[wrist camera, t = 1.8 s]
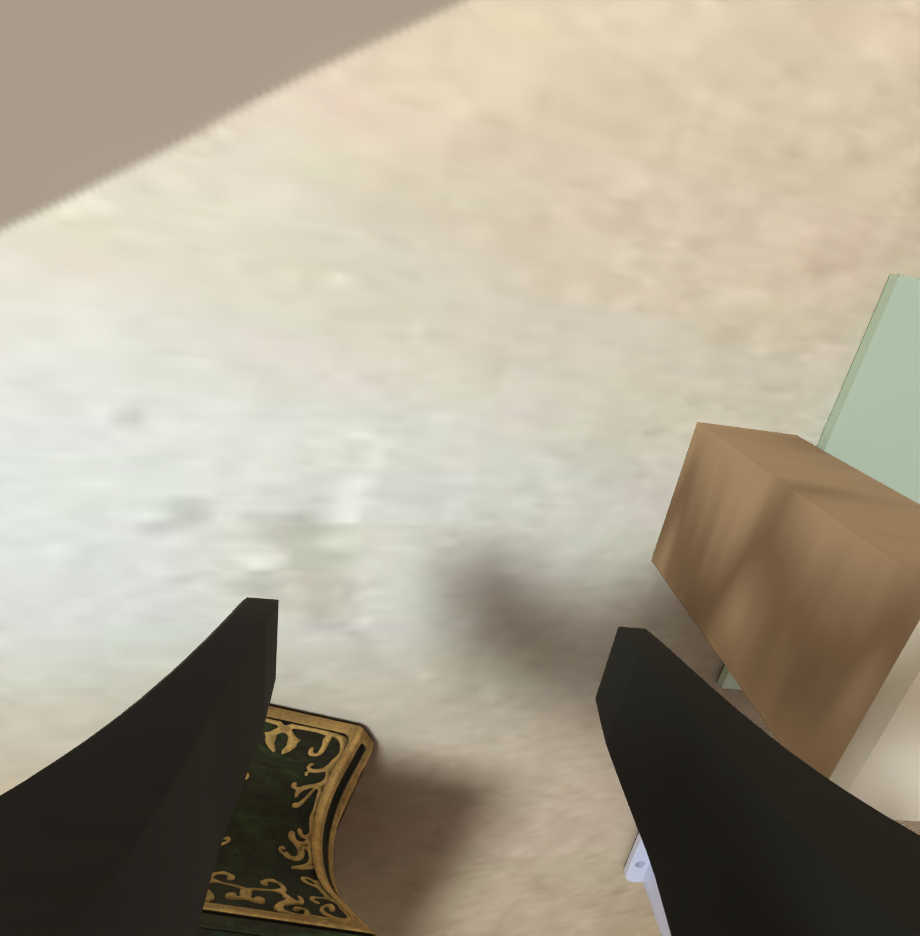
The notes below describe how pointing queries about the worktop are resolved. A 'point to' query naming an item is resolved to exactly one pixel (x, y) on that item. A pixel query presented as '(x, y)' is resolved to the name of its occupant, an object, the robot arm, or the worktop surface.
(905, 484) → the green pad
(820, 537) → the tan rectangular block
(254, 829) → the decorative box
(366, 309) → the worktop surface
